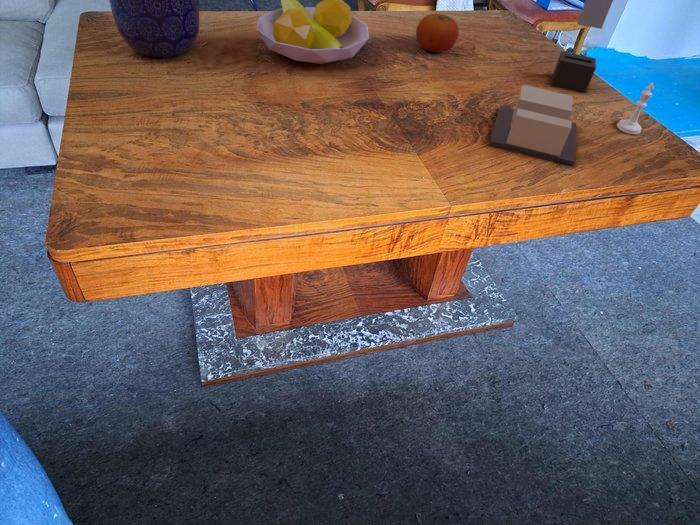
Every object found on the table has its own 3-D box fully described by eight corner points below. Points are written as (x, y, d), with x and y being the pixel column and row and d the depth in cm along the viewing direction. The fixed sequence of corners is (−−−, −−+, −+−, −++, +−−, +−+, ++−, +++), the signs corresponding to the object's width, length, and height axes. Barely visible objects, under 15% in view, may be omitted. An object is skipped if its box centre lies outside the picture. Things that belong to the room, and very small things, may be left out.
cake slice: (559, 148, 98) (571, 120, 94) (559, 156, 96) (571, 128, 92) (508, 136, 100) (517, 108, 95) (506, 143, 97) (516, 115, 93)
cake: (561, 123, 105) (572, 95, 101) (560, 139, 101) (572, 111, 96) (513, 111, 107) (522, 84, 103) (509, 126, 102) (519, 99, 98)
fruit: (405, 43, 132) (411, 11, 126) (437, 39, 136) (444, 7, 130) (430, 60, 125) (436, 26, 120) (462, 54, 129) (470, 22, 124)
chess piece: (645, 133, 108) (670, 88, 101) (627, 135, 106) (651, 90, 99) (629, 121, 111) (652, 77, 104) (611, 123, 109) (633, 79, 102)
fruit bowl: (384, 71, 118) (391, 20, 110) (269, 79, 110) (268, 25, 102) (345, 26, 137) (349, -21, 129) (244, 30, 129) (241, -19, 121)
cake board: (574, 127, 107) (576, 123, 106) (572, 166, 96) (574, 161, 95) (499, 109, 110) (500, 105, 109) (488, 145, 98) (490, 140, 98)
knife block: (585, 82, 124) (595, 58, 119) (585, 92, 119) (596, 67, 115) (552, 75, 125) (561, 51, 121) (550, 85, 121) (560, 60, 117)
